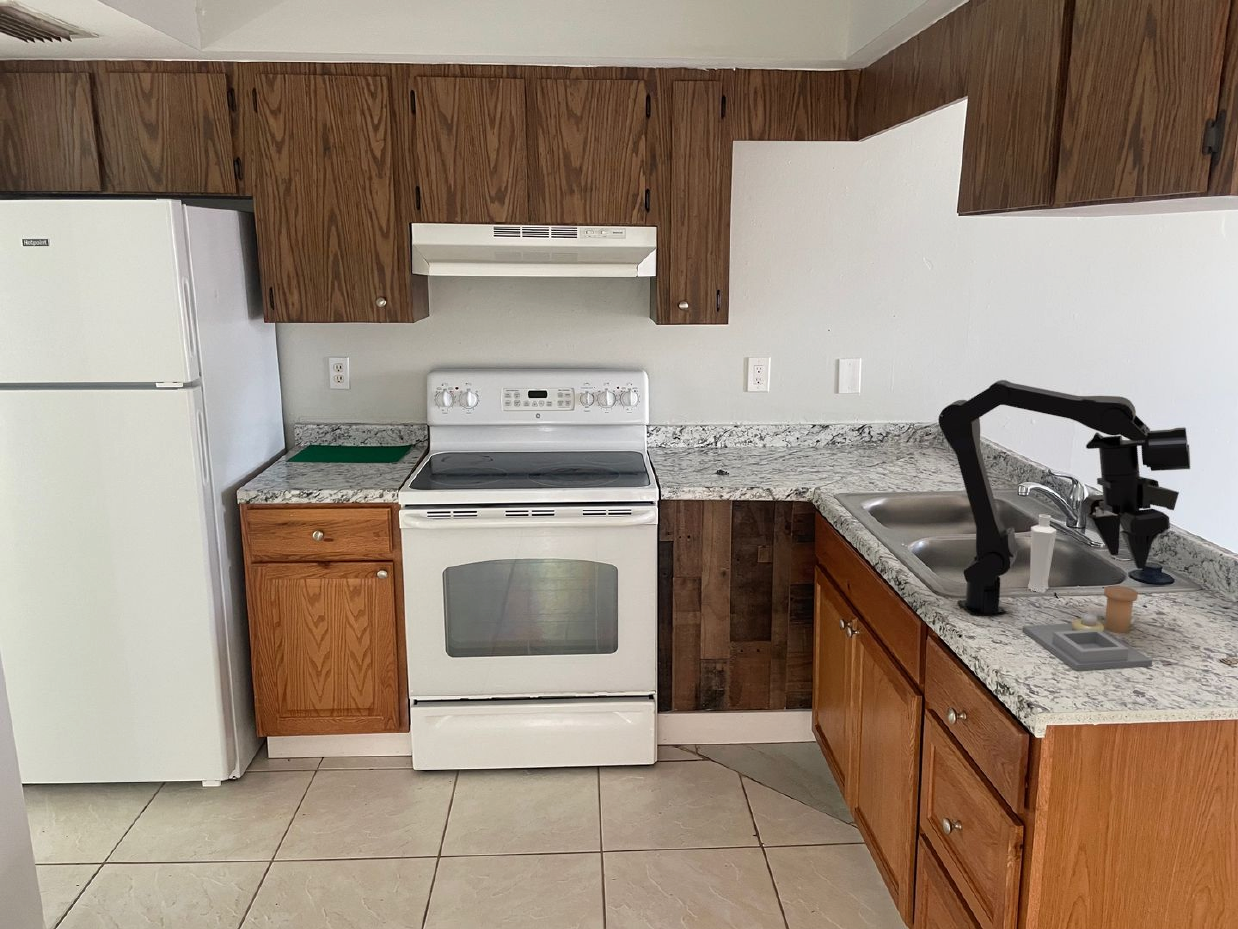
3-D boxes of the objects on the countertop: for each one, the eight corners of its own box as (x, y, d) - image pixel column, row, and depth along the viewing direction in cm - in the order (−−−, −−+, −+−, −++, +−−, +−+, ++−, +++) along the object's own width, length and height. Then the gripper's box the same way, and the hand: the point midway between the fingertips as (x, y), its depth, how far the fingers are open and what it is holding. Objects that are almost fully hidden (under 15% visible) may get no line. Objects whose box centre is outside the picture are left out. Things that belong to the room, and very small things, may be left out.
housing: (1022, 631, 167) (1024, 610, 166) (1092, 627, 169) (1094, 606, 168) (1075, 671, 152) (1078, 647, 151) (1151, 666, 153) (1154, 642, 152)
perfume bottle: (1053, 594, 185) (1061, 519, 181) (1029, 593, 185) (1036, 518, 182) (1047, 586, 189) (1054, 513, 186) (1024, 584, 190) (1030, 512, 186)
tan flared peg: (1094, 623, 170) (1098, 586, 169) (1121, 622, 171) (1125, 585, 170) (1112, 635, 165) (1116, 597, 164) (1140, 633, 166) (1144, 595, 164)
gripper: (1200, 473, 151) (1207, 569, 153) (1141, 457, 170) (1147, 542, 172) (1128, 484, 152) (1136, 578, 154) (1077, 466, 170) (1084, 551, 172)
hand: (1127, 561), depth 163 cm, fingers open, 9 cm apart
